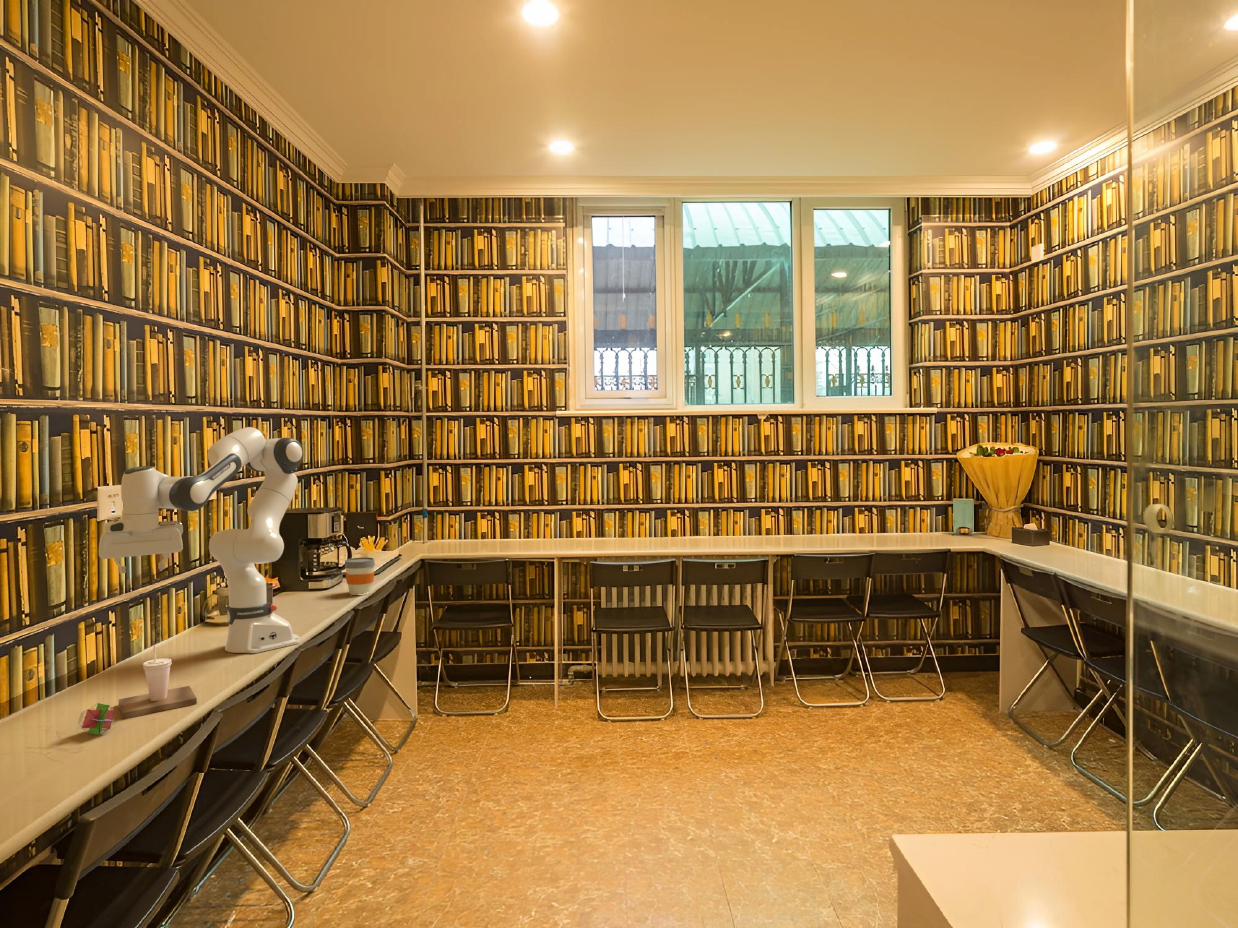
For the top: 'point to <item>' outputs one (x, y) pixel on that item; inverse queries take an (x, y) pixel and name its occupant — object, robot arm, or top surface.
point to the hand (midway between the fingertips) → (142, 570)
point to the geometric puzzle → (97, 719)
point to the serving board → (156, 702)
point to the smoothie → (157, 676)
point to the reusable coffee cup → (359, 574)
